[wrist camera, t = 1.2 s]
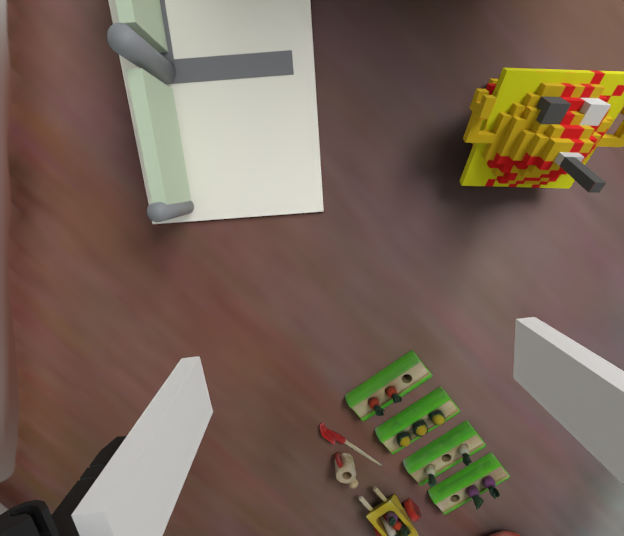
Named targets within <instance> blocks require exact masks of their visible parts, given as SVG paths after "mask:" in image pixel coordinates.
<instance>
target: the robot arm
mask: <svg viewBox="0 0 624 536" xmlns="http://www.w3.org/2000/svg"><path fill="white" fill-rule="evenodd" d="M513 378H514V379H515V380H516V381H517V382H518V383H519V384H520V385H521V386H522V387H523V388H524V389H525V390H526V391H527V392H528V393H530V394H531V395H532V396H533V397H534V398H535V399H536V400H537V401H538V402H539V403H540V404H541V405H542V406H543V407H544V408H545V409H546V410H547V411H548V412H549V413H550V414H551V415H552V416H553V417H554V418H555V419H556V420H557V421H558V422H559V423H560V424H561V425H562V426H563V427H565V428H566V429H567V430H568V431H569V432H570V433H571V434H572V435H573V436H574V437H575V438H576V439H577V440H578V441H579V442H580V443H581V444H582V445H583V446H584V447H585V448H586V449H587V450H588V451H589V452H590V453H591V454H592V455H593V456H594V457H595V458H596V459H597V460H598V461H600V462H601V463H602V464H603V465H604V466H605V467H606V468H607V469H608V470H609V471H610V472H611V473H612V474H613V475H614V476H615V477H616V478H617V479H618V480H619V481H620V482H621V483H622V484H623V485H624V371H622V370H621V369H619V368H618V367H616V366H614V365H613V364H611V363H609V362H608V361H606V360H604V359H603V358H601V357H600V356H598V355H596V354H595V353H593V352H591V351H590V350H588V349H586V348H585V347H583V346H582V345H580V344H578V343H577V342H575V341H573V340H572V339H570V338H568V337H567V336H565V335H564V334H562V333H560V332H559V331H557V330H555V329H554V328H552V327H550V326H549V325H547V324H546V323H544V322H542V321H541V320H539V319H537V318H536V317H530V318H522V319H516V329H515V352H514V375H513ZM212 413H213V410H212V406H211V402H210V398H209V393H208V389H207V385H206V381H205V377H204V373H203V368H202V364H201V360H200V356H198V357H189V358H181V360H180V361H179V363H178V364H177V366H176V367H175V368H174V370H173V371H172V373H171V374H170V376H169V377H168V378H167V380H166V381H165V383H164V384H163V385H162V387H161V388H160V390H159V391H158V393H157V394H156V395H155V397H154V398H153V400H152V401H151V403H150V404H149V405H148V407H147V408H146V410H145V411H144V412H143V414H142V415H141V417H140V418H139V420H138V421H137V422H136V424H135V425H134V427H133V428H132V429H131V431H130V432H129V434H128V435H127V436H121V437H116V438H115V439H114V440H113V441H112V442H110V443H109V444H108V445H107V446H106V447H104V448H103V449H102V450H101V451H100V452H99V454H98V455H97V456H96V458H95V459H94V460H93V462H92V463H91V464H90V468H87V469H86V471H85V472H84V473H83V475H82V476H81V477H80V478H81V479H80V481H77V483H76V484H75V485H74V487H73V488H72V489H71V490H70V492H69V493H68V494H67V496H66V497H65V498H64V500H63V501H62V502H61V504H60V505H59V506H58V508H57V509H56V510H55V511H54V513H53V514H52V515H51V514H50V512H49V509H48V507H47V505H46V503H45V502H44V501H39V500H33V501H28V502H24V503H22V504H20V505H17V506H15V507H13V508H11V509H9V510H7V511H6V512H4V513H3V514H1V515H0V536H163V533H164V531H165V528H166V526H167V523H168V521H169V518H170V516H171V513H172V511H173V509H174V506H175V504H176V501H177V499H178V496H179V494H180V491H181V489H182V487H183V484H184V482H185V479H186V477H187V474H188V472H189V469H190V467H191V464H192V462H193V460H194V457H195V455H196V452H197V450H198V447H199V445H200V442H201V440H202V438H203V435H204V433H205V430H206V428H207V425H208V423H209V420H210V418H211V415H212Z"/></svg>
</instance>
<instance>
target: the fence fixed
mask: <svg viewBox="0 0 624 536" xmlns="http://www.w3.org/2000/svg"><path fill="white" fill-rule="evenodd" d="M115 3H116V8H117V13H118V18H119V23H115V24H113V25H111V26H110V28H109V29H108V32H107V40H108V43H109V45H110V47H111V48H112V50H114V51H115V52H116V53H118V54H119V55H121V56H122V57H124V58H125V59H127V60H128V61H130V62H131V63H133V64H134V65H136V66H137V67H139V68H142V69H144V70H145V71H147V72H148V73H150V74H151V75H152V76H154V77H155V78H157V79H158V80H160V81H161V82H163V83H164V84H169V83H171V82H173V81H174V79H175V77H176V70H175V67H174V66H173V64H172V63H171V62H169V61H168V60H167V59H166V58H165V57H164V56H162V55H161V54H160V53H165V52H168V48H167V42H166V35H165V29H164V23H163V17H162V11H161V5H160V0H115Z"/></svg>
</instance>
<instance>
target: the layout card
mask: <svg viewBox="0 0 624 536" xmlns="http://www.w3.org/2000/svg"><path fill="white" fill-rule="evenodd" d="M108 2H109V7H110V12H111V17H112V22H113V24H115V23H119V18H118V13H117V8H116V3H115V0H108ZM160 5H161V11H162V17H163V23H164V29H165V35H166V42H167V48H168V52H165V53H160V54H161V55H162V56H164V57H165V58H166V59H167V60H168V61H169V62H171V63H172V64H173V66H174V67H175V70H176V77H175V79H174V81H173V82H171V83H169V84H166V85H167V86H169V87H170V88H172V89H173V94H174V100H175V106H176V112H177V118H178V124H179V130H180V136H181V142H182V148H183V154H184V160H185V167H186V173H187V179H188V185H189V191H190V197H191V201H192V202H193V204H194V210H193V212H192V213H190V214H187V215H183V216H180V217H176V218H173V219H169V220H166V221H162V222H154V221H152V224H162V223H176V222H189V221H203V220H216V219H229V218H243V217H256V216H270V215H283V214H296V213H310V212H323V211H324V210H323V194H322V179H321V163H320V147H319V131H318V115H317V99H316V83H315V68H314V52H313V36H312V20H311V4H310V0H160ZM119 57H120V62H121V67H122V72H123V77H124V83H125V88H126V93H127V98H128V103H129V108H130V113H131V118H132V123H133V128H134V133H135V138H136V143H137V148H138V153H139V158H140V163H141V169H142V174H143V179H144V184H145V189H146V194H147V199H148V204H149V205H150V204H152V200H151V195H150V190H149V185H148V180H147V175H146V170H145V164H144V159H143V154H142V149H141V144H140V139H139V134H138V129H137V123H136V118H135V113H134V108H133V103H132V98H131V93H130V87H129V82H128V77H127V72H126V69H137V68H139V67H137V66H136V65H134V64H133V63H131V62H130V61H128V60H127V59H125V58H124V57H122V56H121V55H119Z"/></svg>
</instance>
